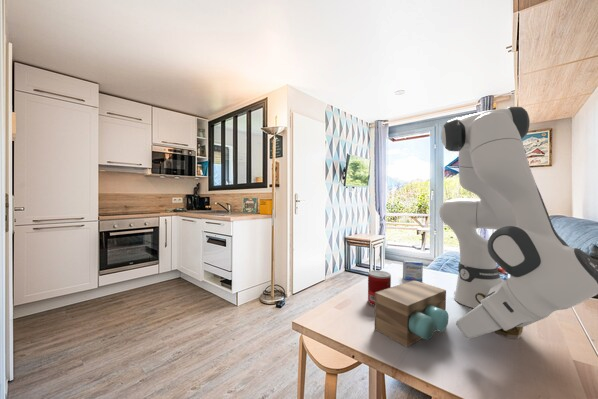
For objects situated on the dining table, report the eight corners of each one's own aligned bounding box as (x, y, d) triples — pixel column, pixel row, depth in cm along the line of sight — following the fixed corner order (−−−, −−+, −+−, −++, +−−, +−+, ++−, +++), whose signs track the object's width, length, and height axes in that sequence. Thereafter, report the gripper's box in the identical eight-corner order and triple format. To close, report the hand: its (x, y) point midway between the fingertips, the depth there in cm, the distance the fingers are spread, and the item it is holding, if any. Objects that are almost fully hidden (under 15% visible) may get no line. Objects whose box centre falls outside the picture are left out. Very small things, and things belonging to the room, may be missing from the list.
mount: (413, 311, 86) (413, 280, 86) (460, 331, 74) (461, 294, 74) (374, 328, 75) (375, 292, 75) (422, 355, 63) (423, 312, 63)
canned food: (391, 308, 89) (392, 277, 89) (368, 306, 91) (369, 275, 90) (388, 299, 96) (389, 271, 96) (367, 297, 98) (367, 269, 98)
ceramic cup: (533, 335, 72) (534, 301, 72) (521, 346, 67) (522, 309, 67) (481, 316, 83) (482, 286, 83) (467, 325, 78) (468, 293, 78)
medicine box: (404, 280, 118) (405, 262, 118) (402, 277, 123) (402, 259, 123) (422, 281, 117) (423, 262, 117) (419, 278, 122) (420, 260, 121)
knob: (403, 309, 81) (403, 291, 81) (448, 328, 70) (448, 308, 70) (392, 313, 78) (393, 295, 78) (437, 334, 67) (438, 313, 67)
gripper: (517, 281, 63) (472, 305, 71) (482, 299, 52) (433, 325, 60) (541, 306, 59) (491, 328, 68) (508, 330, 48) (453, 353, 56)
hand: (463, 327), depth 64 cm, fingers closed
